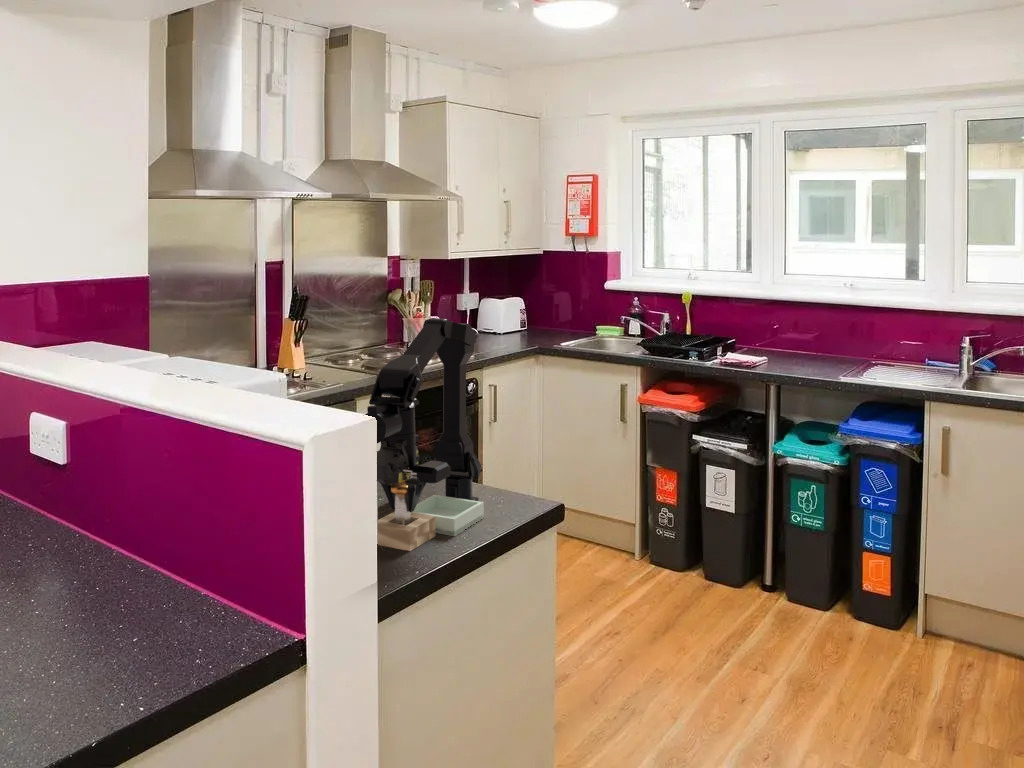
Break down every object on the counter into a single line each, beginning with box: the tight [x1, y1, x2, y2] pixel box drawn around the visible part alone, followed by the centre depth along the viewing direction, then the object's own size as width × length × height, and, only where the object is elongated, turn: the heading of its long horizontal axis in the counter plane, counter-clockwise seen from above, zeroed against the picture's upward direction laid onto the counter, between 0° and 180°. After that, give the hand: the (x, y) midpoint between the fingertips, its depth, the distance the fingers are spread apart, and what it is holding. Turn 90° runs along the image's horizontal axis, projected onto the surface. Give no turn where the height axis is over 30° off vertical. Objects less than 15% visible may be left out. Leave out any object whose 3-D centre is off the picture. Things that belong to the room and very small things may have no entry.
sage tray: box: [411, 494, 485, 537], centre depth 182 cm, size 12×12×4 cm
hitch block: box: [377, 511, 437, 552], centre depth 173 cm, size 9×9×4 cm
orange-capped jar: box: [391, 482, 411, 525], centre depth 172 cm, size 4×4×11 cm
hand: (402, 510), depth 172 cm, fingers closed on orange-capped jar, 4 cm apart
